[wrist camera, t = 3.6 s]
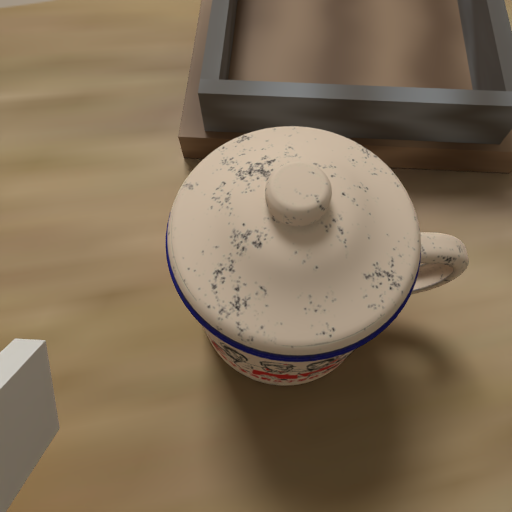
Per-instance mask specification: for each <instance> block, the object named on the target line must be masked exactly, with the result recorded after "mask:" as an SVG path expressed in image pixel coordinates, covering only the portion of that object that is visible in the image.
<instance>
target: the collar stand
mask: <svg viewBox="0 0 512 512" xmlns="http://www.w3.org/2000/svg"><path fill="white" fill-rule="evenodd" d="M284 126H299V127H310V128H316V129H321V130H325V131H329V132H332V133H335V134H338V135H341V136H343V137H346V138H348V139H350V140H352V141H354V142H356V143H358V144H360V145H362V146H363V147H365V148H366V149H368V150H369V151H371V152H372V153H373V154H375V155H376V156H377V157H379V158H380V159H381V160H382V161H383V162H384V163H385V164H386V165H387V166H388V167H392V168H413V169H434V170H455V171H476V172H497V173H510V172H511V171H512V31H511V27H510V23H509V19H508V14H507V10H506V6H505V2H504V0H202V1H201V7H200V13H199V19H198V24H197V30H196V36H195V42H194V48H193V54H192V59H191V65H190V71H189V77H188V83H187V89H186V95H185V100H184V106H183V112H182V118H181V124H180V130H179V135H178V138H179V141H180V145H181V149H182V152H183V156H184V158H205V157H206V156H208V155H209V154H210V153H212V152H213V151H214V150H215V149H217V148H218V147H220V146H222V145H223V144H225V143H227V142H229V141H231V140H232V139H234V138H237V137H239V136H242V135H244V134H247V133H250V132H253V131H257V130H261V129H266V128H273V127H284Z"/></svg>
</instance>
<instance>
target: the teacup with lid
mask: <svg viewBox="0 0 512 512" xmlns="http://www.w3.org/2000/svg"><path fill="white" fill-rule="evenodd" d="M166 255H167V262H168V267H169V271H170V275H171V278H172V281H173V283H174V285H175V288H176V290H177V292H178V294H179V296H180V298H181V299H182V301H183V303H184V304H185V306H186V307H187V308H188V310H189V311H190V312H191V314H192V315H193V316H194V317H195V318H196V319H197V320H198V321H199V323H200V324H201V325H202V326H203V328H204V330H205V332H206V334H207V336H208V338H209V340H210V342H211V344H212V345H213V347H214V349H215V350H216V351H217V353H218V354H219V355H220V356H221V357H222V359H223V360H224V361H225V362H226V363H228V364H229V365H230V366H231V367H232V368H234V369H235V370H236V371H238V372H239V373H241V374H243V375H245V376H247V377H249V378H251V379H253V380H256V381H259V382H262V383H267V384H272V385H297V384H303V383H307V382H310V381H313V380H316V379H318V378H321V377H323V376H324V375H326V374H328V373H330V372H331V371H332V370H334V369H335V368H336V367H338V366H339V365H340V364H341V363H342V362H343V361H344V360H345V359H346V358H347V357H348V356H349V355H350V354H351V353H352V352H353V351H354V350H355V349H356V348H358V347H360V346H362V345H364V344H366V343H367V342H369V341H370V340H372V339H373V338H375V337H376V336H377V335H378V334H380V333H381V332H382V331H383V330H384V329H386V328H387V327H388V326H389V325H390V324H391V322H392V321H393V320H394V319H395V318H396V317H397V316H398V314H399V313H400V312H401V310H402V309H403V307H404V306H405V304H406V302H407V301H408V299H409V297H410V295H411V294H415V293H419V292H423V291H427V290H430V289H433V288H436V287H439V286H441V285H444V284H446V283H448V282H450V281H452V280H454V279H455V278H457V277H458V276H459V275H461V274H462V273H463V272H464V271H465V269H466V268H467V266H468V262H469V260H468V255H467V250H466V247H465V245H464V244H463V242H462V241H460V240H459V239H458V238H456V237H454V236H451V235H448V234H443V233H432V232H420V228H419V222H418V218H417V214H416V211H415V209H414V206H413V203H412V201H411V199H410V197H409V195H408V193H407V191H406V189H405V188H404V186H403V185H402V183H401V182H400V180H399V179H398V178H397V176H396V175H395V174H394V172H393V171H392V170H391V169H390V168H389V167H388V166H387V165H386V164H385V163H384V162H383V161H382V160H381V159H380V158H379V157H377V156H376V155H375V154H373V153H372V152H371V151H369V150H368V149H366V148H365V147H363V146H362V145H360V144H358V143H356V142H354V141H352V140H350V139H348V138H346V137H343V136H341V135H338V134H335V133H332V132H329V131H325V130H321V129H316V128H310V127H299V126H284V127H273V128H266V129H261V130H257V131H253V132H250V133H247V134H244V135H242V136H239V137H237V138H234V139H232V140H231V141H229V142H227V143H225V144H223V145H222V146H220V147H218V148H217V149H215V150H214V151H213V152H212V153H210V154H209V155H208V156H206V157H205V158H204V159H203V160H202V161H201V162H200V163H199V164H198V165H197V166H196V167H195V168H194V169H193V171H192V172H191V173H190V174H189V176H188V177H187V178H186V180H185V181H184V183H183V184H182V186H181V188H180V189H179V192H178V194H177V196H176V198H175V200H174V203H173V206H172V209H171V212H170V215H169V220H168V224H167V231H166ZM420 263H424V264H421V265H420Z"/></svg>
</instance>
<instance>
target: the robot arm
mask: <svg viewBox="0 0 512 512" xmlns="http://www.w3.org/2000/svg"><path fill="white" fill-rule="evenodd" d="M58 430H59V422H58V415H57V409H56V403H55V397H54V390H53V384H52V378H51V372H50V366H49V359H48V353H47V347H46V341H45V340H31V339H14V340H13V341H12V342H11V343H10V344H9V345H8V346H7V347H6V348H5V349H4V350H3V351H1V352H0V512H6V511H7V509H8V508H9V506H10V505H11V503H12V501H13V500H14V498H15V497H16V495H17V494H18V492H19V491H20V489H21V487H22V486H23V484H24V483H25V481H26V480H27V478H28V477H29V475H30V473H31V472H32V470H33V469H34V467H35V466H36V464H37V463H38V461H39V460H40V458H41V456H42V455H43V453H44V452H45V450H46V449H47V447H48V446H49V444H50V442H51V441H52V439H53V438H54V436H55V435H56V433H57V432H58Z"/></svg>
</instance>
